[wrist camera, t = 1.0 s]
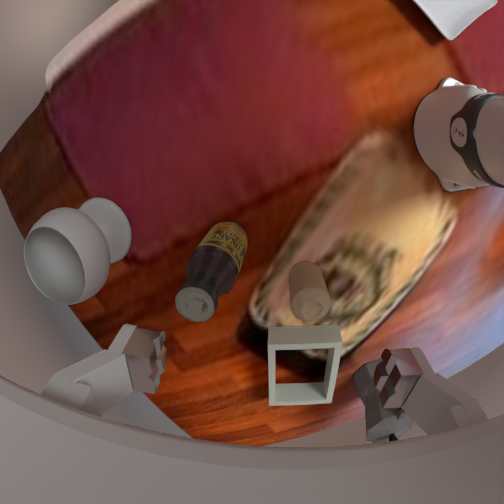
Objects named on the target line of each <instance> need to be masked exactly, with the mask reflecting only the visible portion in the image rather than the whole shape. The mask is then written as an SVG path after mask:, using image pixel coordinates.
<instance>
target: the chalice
mask: <svg viewBox="0 0 504 504" xmlns="http://www.w3.org/2000/svg"><path fill="white" fill-rule="evenodd" d="M131 240H132V234H131V227H130V224H129V221H128V219H127V217H126V215H125V213H124V212H123V211H122V210H121V208H120V207H119V206H118V205H116V204H115V203H114V202H112V201H110V200H108V199H105V198H101V197H94V198H91V199H88V200H87V201H85V202H84V203H83V204H82V205H81V206H80V207H79V209H78V210H76V209H72V208H67V207H64V208H57V209H54V210H52V211H50V212H48V213H46V214H45V215H43V216H42V217H41V218H40V219H39V220H38V221H37V222H36V223H35V224H34V226H33V227H32V228H31V230H30V232H29V234H28V236H27V238H26V241H25V246H24V259H25V264H26V267H27V271H28V273H29V276H30V278H31V279H32V281H33V283H34V284H35V286H36V287H37V288H38V289H39V291H40V292H41V293H42V294H43V295H45V296H46V297H47V298H48V299H50V300H52V301H53V302H56V303H59V304H64V305H72V304H77V303H81V302H83V301H85V300H87V299H89V298H90V297H92V296H94V295H95V294H96V293H97V292H98V291H99V290H100V289H101V288H102V287H103V286H104V284H105V282H106V280H107V278H108V274H109V269H110V264H113V263H116V262H119V261H121V260H122V259H123V258H124V257H125V256H126V255H127V253H128V251H129V249H130V246H131Z"/></svg>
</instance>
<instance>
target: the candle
mask: <svg viewBox="0 0 504 504" xmlns="http://www.w3.org/2000/svg"><path fill="white" fill-rule="evenodd" d="M289 290H290V301H291V310H292V312H293V314H294V315H295V316H296V317H297V318H298V319H300V320H303V321H316V320H319V319H321V318H322V317H324V316H325V315H326V314H327V313H328V311H329V309H330V306H331V301H330V297H329V293H328V290H327V287H326V284H325V280H324V277H323V274H322V271H321V269H320V268H319V267H318V266H317V265H316V264H314V263H312V262H301V263H298V264H296V265H295V266H294V267H293V268H292V269H291V271H290V273H289Z"/></svg>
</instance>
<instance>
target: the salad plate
mask: <svg viewBox="0 0 504 504" xmlns="http://www.w3.org/2000/svg"><path fill="white" fill-rule="evenodd" d="M412 1H413V2H414V3H415V4H416V5H417V6H418V7H419V8H420V10H421V11H422V12H423V13H424V14H425V15H426V16H427V18H428V19H429V20H430V21H431V22H432V24H433V25H434V26H435V27H436V29H437V30H438V31H439V32H440V33H441V34H442V35H443V36H444V37H445V38H446V39H448V40H453V39H454V38H455V37H457V36H458V35H459V34H460V33H461V32H462V31H463V30H464V29H465V28H466V27H467V26H468V25H470V24H471V23H472V22H473V21H474V20H475V19H476V18H477V17H479V16H480V15H481V14H482V13H484V12H485V11H487V10H488V9H490V8H492V7H493V6H494V5H495V4H496V3H497V0H412Z"/></svg>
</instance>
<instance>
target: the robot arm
mask: <svg viewBox="0 0 504 504" xmlns="http://www.w3.org/2000/svg"><path fill="white" fill-rule="evenodd" d="M454 85H455V86H454ZM414 136H415V141H416V145H417V148H418V151H419V153H420V155H421V157H422V159H423V160H424V162H425V163H426V164H427V165H428V167H429V168H430V169H431V170H433V171H434V172H435V173H436V175H437V176H438V178H439V180H440V182H441V185H442V187H443V188H444V189H445V190H446V191H450V192H452V191H458V190H463V189H469V188H472V189H475V188H476V187H481V186H487V185H491V186H494V187H495V186H496V187H501V188H504V95H501V94H494V93H487V90H485V89H483V88H479V89H478V88H477V87H476V86H475V85H464V84H462V83H461V82H459V81H457V80H455V79H453V78H444V79H443V80H442V82H441V83H440V85H439V87H438V89H437V90H435V91H434V92H432V93H430V94H429V95H427V96H426V97H425V98H424V99H423V100H422V102H421V103H420V105H419V107H418V109H417V112H416V115H415V120H414ZM454 183H456V184H455V185H454ZM165 340H166V339H165V332H164V331H162V330H157V329H152V328H147V327H142V326H136V325H131V324H124V325H123V326H122V328H121V329H120V331H119V332H118V334H117V336H116V337H115V339H114V340H113V342H112V344H111V345H110V347H109V348H108V350H105V349H104V350H102V351H100V352H98V353H95V354H93V355H91V356H89V357H87V358H85V359H83V360H81V361H79V362H77V363H75V364H73V365H71V366H68V367H66V368H64V369H62V370H60V371H58V372H56V373H54V375H53V376H52V378H51V379H50V381H49V382H48V384H47V385H46V387H45V388H44V390H43V391H42V393H41V394H38V393H36V392H33V391H31V390H29V389H27V388H25V387H23V386H20V385H18V384H16V383H14V382H12V381H10V380H8V379H6V378H4V377H2V376H1V375H0V504H504V414H503V415H500V416H497V417H494V418H491V419H487V417H486V415H485V413H484V411H483V409H482V407H481V406H480V404H479V402H478V400H477V399H475V398H474V397H472V396H471V395H469V394H468V393H466V392H465V391H463V390H462V389H460V388H459V387H457V386H456V385H454V384H453V383H451V382H450V381H448V380H447V379H445V378H444V377H442V376H441V375H439V374H438V373H436V374H435V373H434V371H433V369H432V368H431V366H430V364H429V362H428V361H427V359H426V357H425V355H424V354H423V352H422V350H421V349H420V348H419V347H413V348H386V349H385V350H384V351H383V353H382V355H381V358H382V361H381V362H380V363H379V364H377V366H376V368H375V371H374V384H375V387H376V388H377V389H378V390H379V391H381V392H380V394H379V399H380V402H381V405H382V408H397V407H402V409H403V410H404V411H405V412H406V413H407V414H408V416H409V417H410V418H411V419H412V420H413V421H415V423H417V425H419V427H421V429H422V430H423V431H424V432H425V433H426V434H427V435H426V436H421V437H416V438H409V439H403V440H396V441H389V442H382V443H373V444H364V445H353V446H337V447H268V446H252V445H240V444H230V443H221V442H213V441H206V440H199V439H193V438H186V437H181V436H175V435H170V434H165V433H160V432H156V431H151V430H147V429H143V428H139V427H134V426H131V425H127V424H123V423H120V422H116V421H113V420H109V419H106V418H103V417H102V414H104V413H105V412H107V411H108V410H109V409H111V408H112V407H113V406H115V405H116V404H117V403H119V402H120V401H121V400H123V399H124V398H125V397H127V396H128V395H129V394H130V393H132V392H133V390H136V391H141V392H146V393H152V394H156V391H157V389H158V386H159V383H160V376H159V375H160V374H162V373H163V372H164V369H165V366H166V361H167V350H166V348H165V347H164V342H165Z"/></svg>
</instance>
